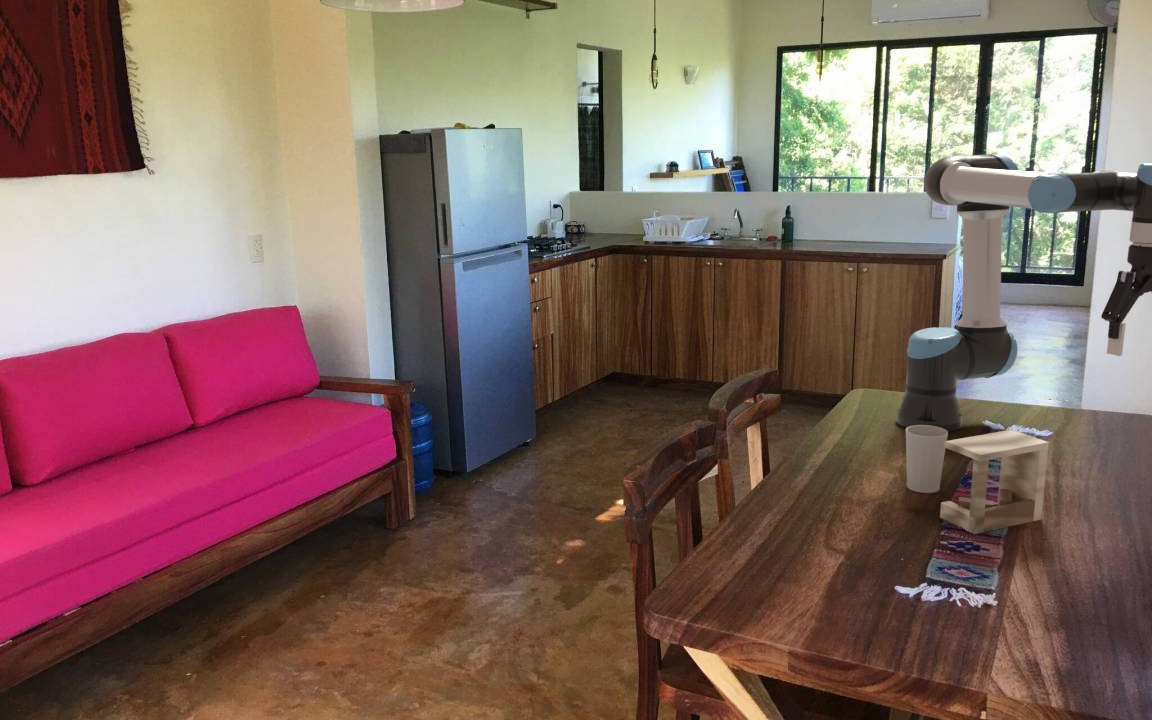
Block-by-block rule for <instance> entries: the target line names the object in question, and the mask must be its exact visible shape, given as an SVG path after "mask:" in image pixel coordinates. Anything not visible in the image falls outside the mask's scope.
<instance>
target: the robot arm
mask: <svg viewBox="0 0 1152 720" xmlns="http://www.w3.org/2000/svg"><path fill="white" fill-rule="evenodd" d="M923 183H924V189H925V192H926V194H927V196H928V197H929V198H930V199H931V200H932V201H933V202H935V203H937V204H940V205H944V206H956V214H957V215H958V216H959V217H960V218H962V221H963V232H962V239H963V241H962V242H963V243H962V305H961V309H962V311H961V313H962V316H961V318H960V319H959V320H957V322H955V328H953V327H946V326H945V327H944V326H939V327H934V326H933V327H927V328H922V329H919V330H917V331H915V332H913V333H912V334H911V335H910V337H909V339H908V344H907V345H908V346H907V349H906V354H907V355H906V356H907V357H906V359H907V361H906V362H907V363H906V377H905V390H904V391H905V392H904V394H903V397H902V400H901V403H900V407H899V408H898V409H897V412H896V420H895V421H896V423H897V424H898V425H900V426H901V427H903V428H905V429H906V428H907V427H909V426H914V425H929V426H936V427H940V428H943V429H945V430H946V431H947V432H948V433H949V432H955V431H957V430H960V429H961V428H962V422H963V417H962V414H961V412H960V406H959V402H958V399H957V384H958V381H964V380H973V379H982V378H983V379H984V378H985V379H990V378H993V377H997V376H1001V375H1004V374H1006V373H1007V372H1008V371H1009V370H1011V368H1012V367H1013V366H1014V364H1015V362H1016V359H1017V356H1018V343H1017V340H1016V339H1014V338H1015V336H1014V333H1012V332H1011V331H1010V330H1008V328H1007V326H1008V323H1007V322H1006V321H1005V320H1004V319H1002V317H1001V299H1002V298H1001V297H1002V296H1001V295H1002V287H1001V286H1002V285H1001V284H1002V248H1003V245H1002V242H1003V240H1002V239H1003V218H1004V216H1005V215H1007V213H1008V212H1009V211H1010V207H1014V208H1022V209H1032V210H1033V209H1034V211H1036V212H1037V213H1041V214H1054V215H1056V214H1059V213H1073V212H1092V211H1110V210H1111V211H1113V210H1115V211H1126V212H1127V211H1129V212H1132V218H1131V225H1130V232H1129V239H1128V241H1129V242H1130V243H1131V244H1130V245H1129V246H1128V250H1127V251H1128V252H1127V263H1128V264H1130V265H1131V269H1130V271H1127V270H1119V271H1118V274H1117V277H1116V278H1117V279H1116V283H1115V284H1114V287H1113V289H1112V291H1111V293H1110V295H1109V298H1108V299H1107V302H1106V304H1105V307H1104V308H1103V311H1102V313H1101V315H1100V318H1101V319H1103V320H1104V321H1106V322H1109V323H1108V333H1107V340H1108V341H1107V347H1106V354H1108V355H1111V356H1116V357H1122V356H1123V350H1124V349H1123V348H1124V342H1125V334H1126V333H1125V332H1126V325H1127V323H1126V322H1124V320H1125V318H1126V317H1127V316H1128V314H1129V313H1130V311H1131V309H1132V308H1133V306H1134V305H1135V303H1136V302H1137V301H1138V300H1139V298H1140V297H1142V296H1143V295H1145V294H1147V293H1150V292H1151V293H1152V162H1143V163H1140V164H1139V166H1138V169H1137V171H1136V172H1129V171H1126V172H1125V171H1116V170H1115V171H1114V170H1098V171H1093V172H1082V173H1057V172H1044V171H1043V172H1042V171H1029V170H1028V171H1027V170H1020V169H1019V167H1018V165H1017V164H1016V163H1015V162H1014V161H1013V159H1011V158H1010V157H1009V156H1006V155H1004V154H993V153H992V154H990V153H987V154H971V155H950V156H946V157H942V158H941V159H938V160H936V161H935V162H934V163H932V165H931V166H930V167H928V170H927V171H926V173H925V177H924V182H923Z"/></svg>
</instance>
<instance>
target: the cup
mask: <svg viewBox="0 0 1152 720" xmlns="http://www.w3.org/2000/svg"><path fill="white" fill-rule="evenodd" d="M948 435H949V432H947V431H946V430H945V429H943V428H940V427H936V426H929V425H914V426H909V427H907V428H905V448H906V450H905V452H906V453H905V455H906V487H907V489H908V490H911V491H913V492H917V493H923V494H933V493H937V492H939V491H940V489H941V488H940V487H941V480H942V479H941V478H942V471H943V467H944V461H945V460H944V459H945V453H946V448H945V441H948Z"/></svg>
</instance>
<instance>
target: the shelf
mask: <svg viewBox="0 0 1152 720" xmlns="http://www.w3.org/2000/svg"><path fill="white" fill-rule="evenodd" d="M1049 444H1050V441H1046V440H1044V439H1040V438H1037V437H1034V436H1032V435H1029V434H1026V433H1023V432H1020V431H1017V430H1015V429H1006V430H1002V431H997V432H989V433H984V434H980V435H974V436H972V435H971V436H967V437H963V438H962V437H961V438H957V439H951V440H947V441H945V449H947V450H950V451H953V452H955V453H958V454H961V455H963V456H966V457H968V458H971V459H973V462H972V463H973V465H972V478H971V489H970V497H962V496H959V497H958V503H955V502H954V501H951V500H947V501H943V502H940V511H939V512H940V513H939V518H940V519H942V520H944V521H946V520H947V521H946V522H948V521H949V522H948V523H950V522H951V523H950V524H952V523H953V525H954V524H956V525H957V526H956V525H955V526H956V527H958V526H959V528H960V527H962V528H963V530H964V529H965V531H966V532H968V533H971V534H972V535H977V534H983V533H986V532H985V531H988V532H991V531H990V530H992V531H995V530H994V529H996V530H998V529H997V528H1001V529H1003V528H1002V527H1005V528H1009V526H1010V527H1014V526H1017V525H1022V524H1026V523H1032V522H1036V521H1041V520H1042V516H1043V510H1044V509H1043V506H1044V496H1045V488H1046V487H1045V486H1046V476H1047V465H1048V454H1049V446H1050V445H1049ZM995 459H1000V470H999V471H1000V472H999V480H998V481H999V482H998V494H997V496H998V497H997V504H998V505H996V506H995V501H994V500H988V499H986V498H987V488H988V476H989V475H988V474H989V465H990V460H995ZM962 528H961V529H962ZM982 532H983V533H982Z"/></svg>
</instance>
